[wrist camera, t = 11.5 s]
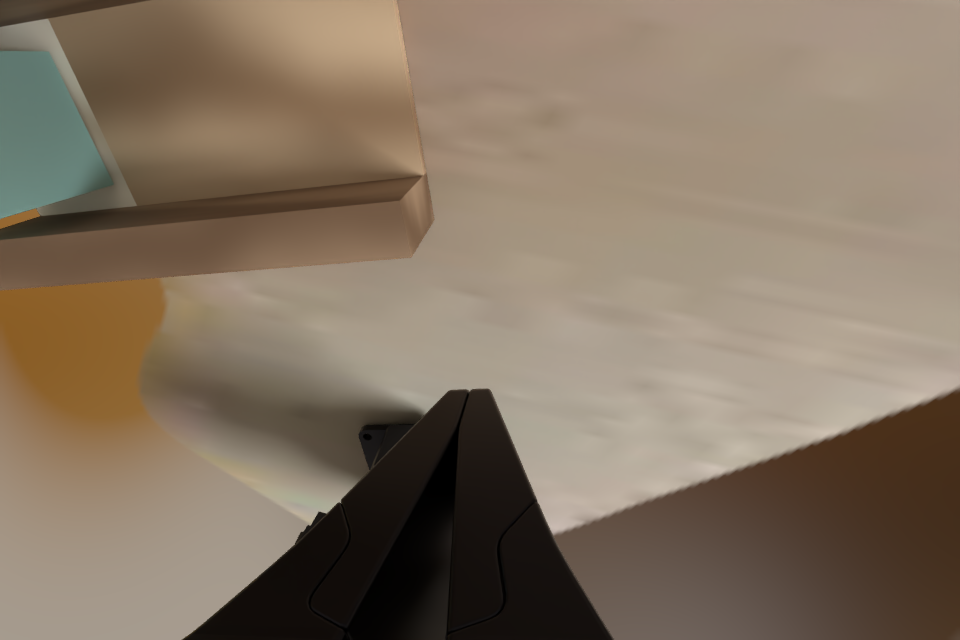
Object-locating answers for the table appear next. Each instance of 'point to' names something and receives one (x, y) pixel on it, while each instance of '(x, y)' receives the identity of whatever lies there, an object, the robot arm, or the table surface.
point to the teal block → (42, 137)
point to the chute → (225, 138)
